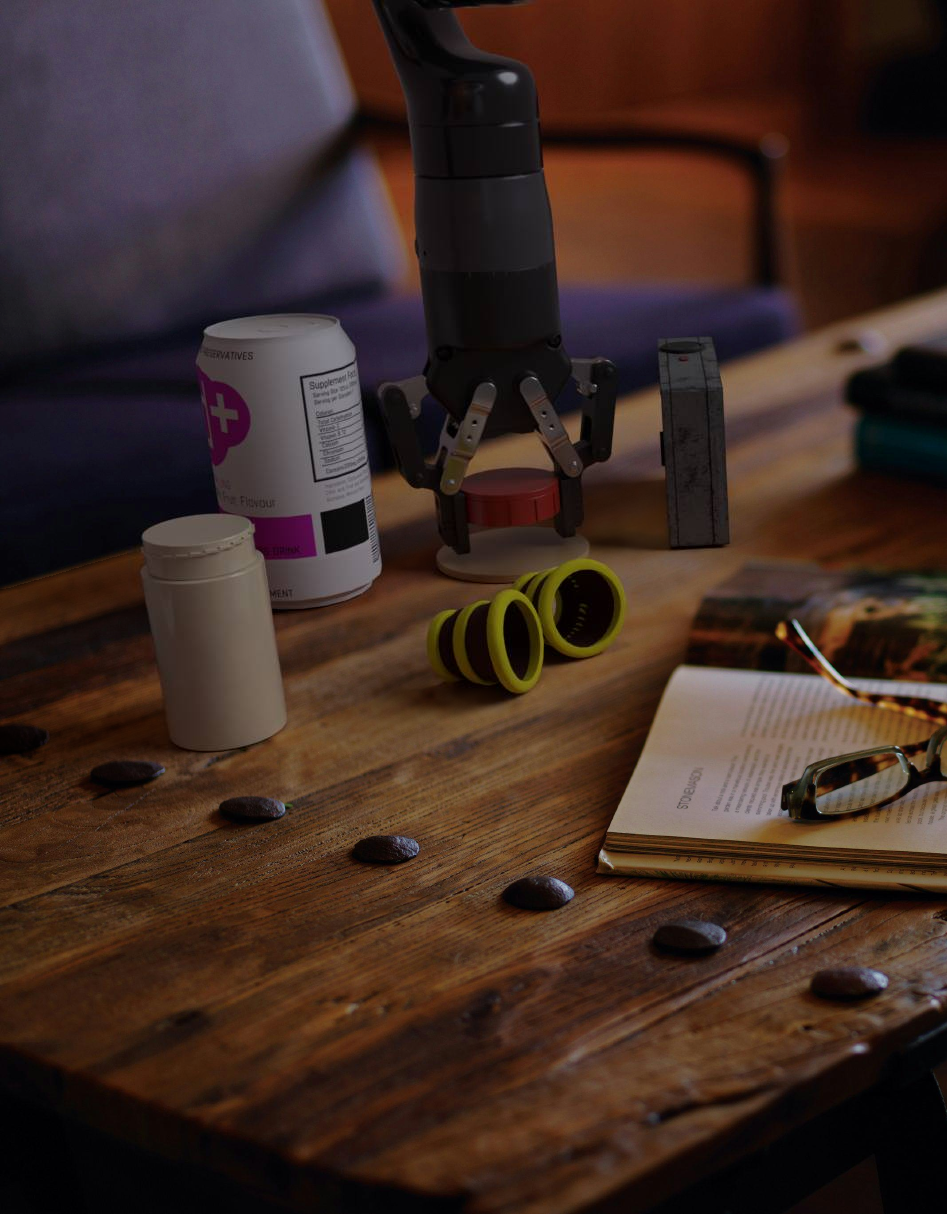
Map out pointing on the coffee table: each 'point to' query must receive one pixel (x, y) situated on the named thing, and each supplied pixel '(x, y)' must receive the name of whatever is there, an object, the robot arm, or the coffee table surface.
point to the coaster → (511, 554)
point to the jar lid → (511, 496)
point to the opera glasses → (529, 626)
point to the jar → (212, 632)
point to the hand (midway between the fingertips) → (513, 541)
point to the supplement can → (293, 452)
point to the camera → (693, 442)
